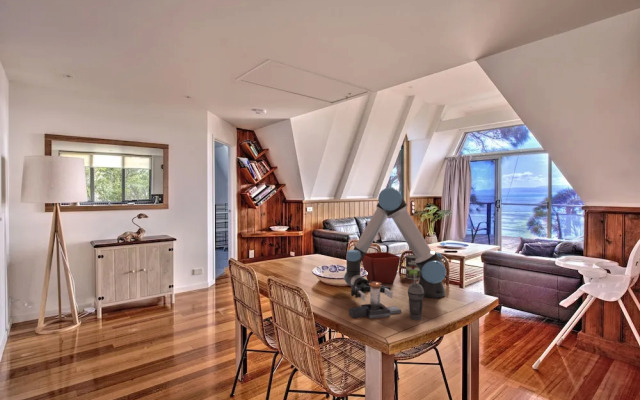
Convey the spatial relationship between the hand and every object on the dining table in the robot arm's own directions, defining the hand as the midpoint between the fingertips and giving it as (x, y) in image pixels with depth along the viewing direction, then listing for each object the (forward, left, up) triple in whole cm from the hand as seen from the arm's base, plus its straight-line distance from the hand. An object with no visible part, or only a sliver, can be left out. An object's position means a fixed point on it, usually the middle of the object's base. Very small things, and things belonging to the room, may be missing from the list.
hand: (378, 296), depth 152 cm
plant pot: (+14, -59, -9) cm, 61 cm away
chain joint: (+2, -3, -9) cm, 10 cm away
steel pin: (+2, -3, -9) cm, 10 cm away
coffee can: (-4, -77, -9) cm, 77 cm away
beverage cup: (-16, -5, -9) cm, 19 cm away
